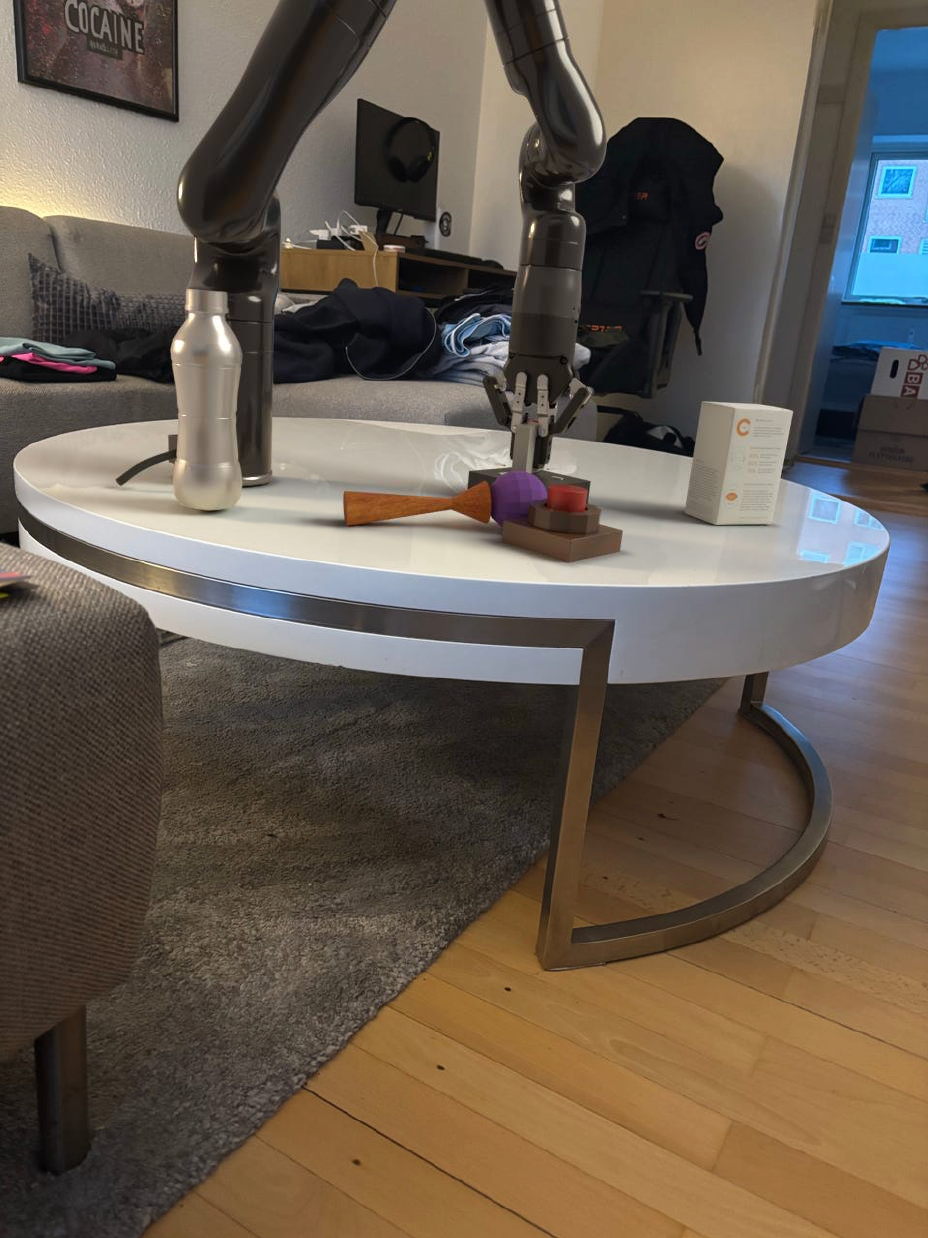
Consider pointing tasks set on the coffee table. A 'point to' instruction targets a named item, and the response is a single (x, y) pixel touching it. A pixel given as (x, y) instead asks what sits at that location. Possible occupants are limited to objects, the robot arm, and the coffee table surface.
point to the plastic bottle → (206, 405)
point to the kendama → (451, 501)
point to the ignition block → (562, 533)
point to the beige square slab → (525, 447)
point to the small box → (737, 463)
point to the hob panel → (543, 476)
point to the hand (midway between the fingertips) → (529, 466)
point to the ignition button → (566, 498)
